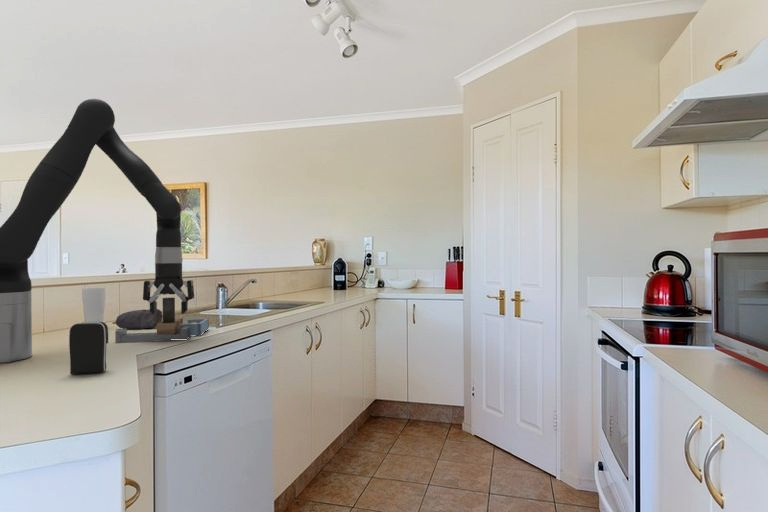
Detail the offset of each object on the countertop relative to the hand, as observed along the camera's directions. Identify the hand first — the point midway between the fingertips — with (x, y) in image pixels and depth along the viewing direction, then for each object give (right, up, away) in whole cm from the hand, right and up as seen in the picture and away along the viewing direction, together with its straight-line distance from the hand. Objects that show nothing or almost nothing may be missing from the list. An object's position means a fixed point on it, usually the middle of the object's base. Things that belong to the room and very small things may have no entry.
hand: (169, 313), depth 133 cm
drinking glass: (-36, -8, +18) cm, 41 cm away
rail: (-4, -8, -1) cm, 9 cm away
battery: (0, -9, -36) cm, 37 cm away
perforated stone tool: (-21, -8, +20) cm, 30 cm away
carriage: (-1, -8, +5) cm, 9 cm away
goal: (+3, -8, +11) cm, 14 cm away
